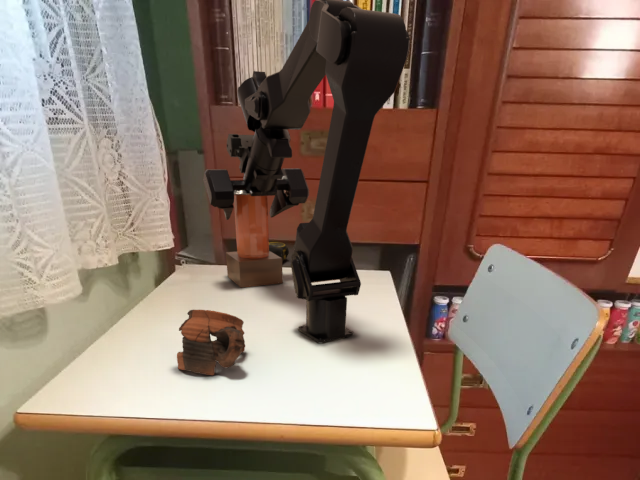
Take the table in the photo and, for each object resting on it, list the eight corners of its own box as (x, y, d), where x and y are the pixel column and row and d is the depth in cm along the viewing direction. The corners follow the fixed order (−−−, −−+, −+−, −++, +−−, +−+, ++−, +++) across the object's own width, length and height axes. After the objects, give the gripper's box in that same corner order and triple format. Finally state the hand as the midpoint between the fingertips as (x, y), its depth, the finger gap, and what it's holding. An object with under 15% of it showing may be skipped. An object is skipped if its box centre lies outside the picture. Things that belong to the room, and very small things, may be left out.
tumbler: (270, 258, 96) (268, 189, 89) (238, 259, 95) (233, 188, 88) (267, 251, 101) (265, 185, 95) (236, 251, 100) (232, 185, 94)
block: (282, 283, 99) (282, 258, 96) (240, 287, 96) (239, 261, 93) (267, 272, 106) (266, 249, 103) (227, 276, 102) (225, 252, 100)
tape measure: (254, 262, 113) (253, 246, 111) (266, 256, 119) (265, 240, 117) (281, 265, 111) (281, 248, 109) (292, 259, 117) (292, 243, 115)
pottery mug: (159, 367, 65) (168, 306, 64) (218, 378, 72) (226, 323, 71) (209, 373, 57) (220, 303, 56) (270, 385, 64) (279, 323, 63)
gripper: (303, 117, 86) (281, 180, 100) (199, 114, 79) (191, 182, 93) (321, 171, 84) (296, 227, 98) (217, 172, 77) (206, 233, 91)
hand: (249, 216), depth 95 cm, fingers open, 9 cm apart
